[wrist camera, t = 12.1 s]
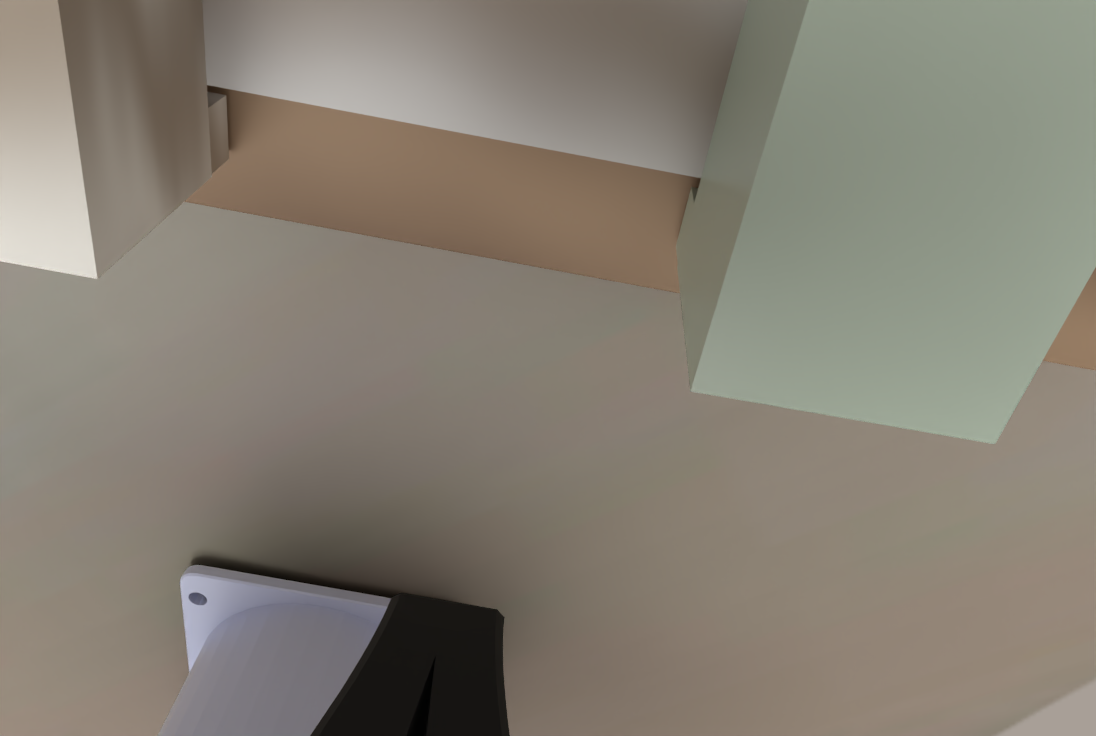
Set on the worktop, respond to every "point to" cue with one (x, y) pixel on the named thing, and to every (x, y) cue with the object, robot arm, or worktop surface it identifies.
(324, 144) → the rail base
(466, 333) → the worktop surface
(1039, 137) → the block
